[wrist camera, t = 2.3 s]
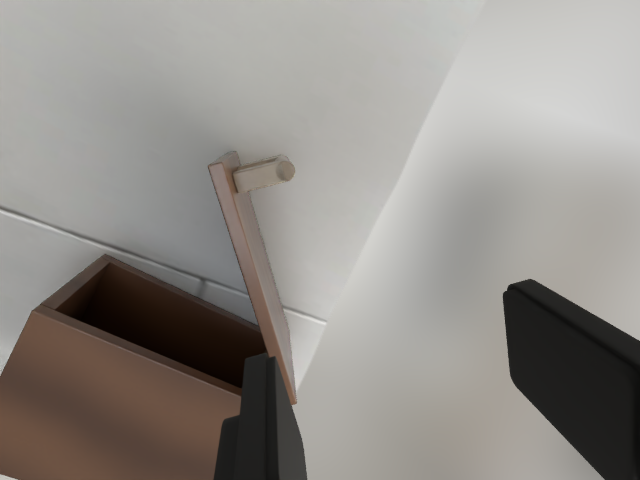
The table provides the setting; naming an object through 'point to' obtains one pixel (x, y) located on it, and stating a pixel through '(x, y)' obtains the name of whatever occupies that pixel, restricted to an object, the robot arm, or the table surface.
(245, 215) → the cupboard door
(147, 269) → the table surface
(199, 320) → the cupboard
